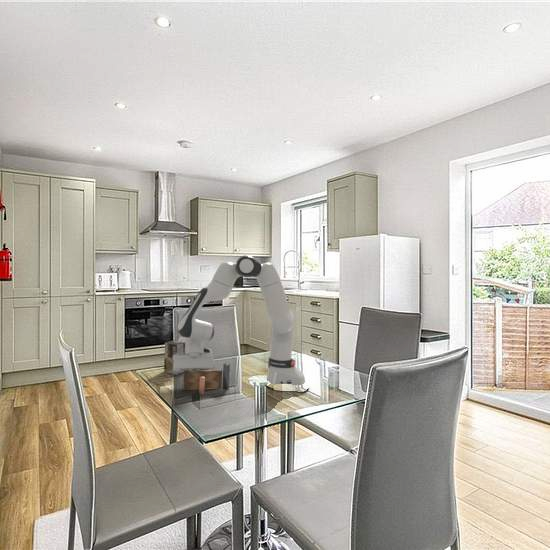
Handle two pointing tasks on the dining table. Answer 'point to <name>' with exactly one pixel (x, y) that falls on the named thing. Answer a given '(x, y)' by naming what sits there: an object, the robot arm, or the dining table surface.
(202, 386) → the catch post
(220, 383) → the gate
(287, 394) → the dining table surface
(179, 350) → the coffee box
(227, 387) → the gate post
